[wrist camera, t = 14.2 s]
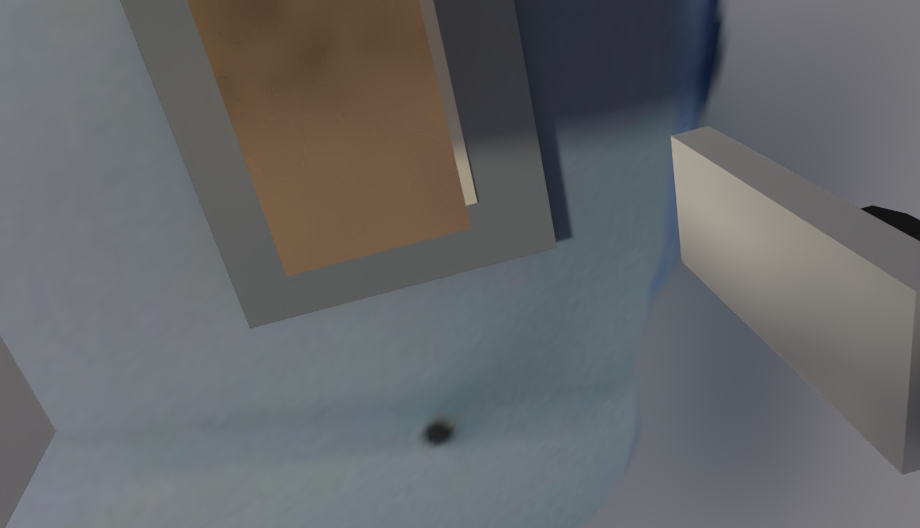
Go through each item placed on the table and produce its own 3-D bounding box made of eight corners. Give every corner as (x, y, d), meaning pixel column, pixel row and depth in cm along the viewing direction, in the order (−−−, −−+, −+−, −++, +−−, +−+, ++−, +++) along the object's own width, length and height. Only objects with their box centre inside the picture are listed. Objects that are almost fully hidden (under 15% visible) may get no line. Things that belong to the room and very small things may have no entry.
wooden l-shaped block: (301, 165, 34) (286, 276, 23) (211, -110, 29) (141, -129, 18) (427, 132, 34) (471, 228, 24) (361, -145, 29) (377, -184, 19)
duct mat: (13, -290, 27) (1, -298, 26) (442, -384, 28) (446, -396, 27) (252, 318, 38) (249, 329, 37) (551, 239, 39) (557, 248, 38)
